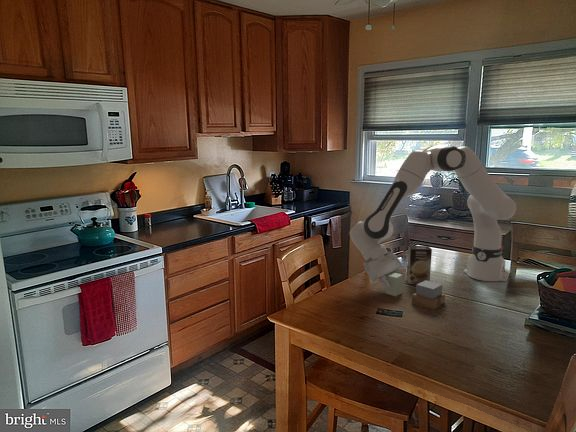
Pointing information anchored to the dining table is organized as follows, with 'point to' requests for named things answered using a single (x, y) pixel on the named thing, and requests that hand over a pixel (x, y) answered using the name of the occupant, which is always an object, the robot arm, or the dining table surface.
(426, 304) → the tower base
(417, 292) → the tower top
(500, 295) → the dining table surface
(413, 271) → the coffee box
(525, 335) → the dining table surface
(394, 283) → the sage block
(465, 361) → the dining table surface
